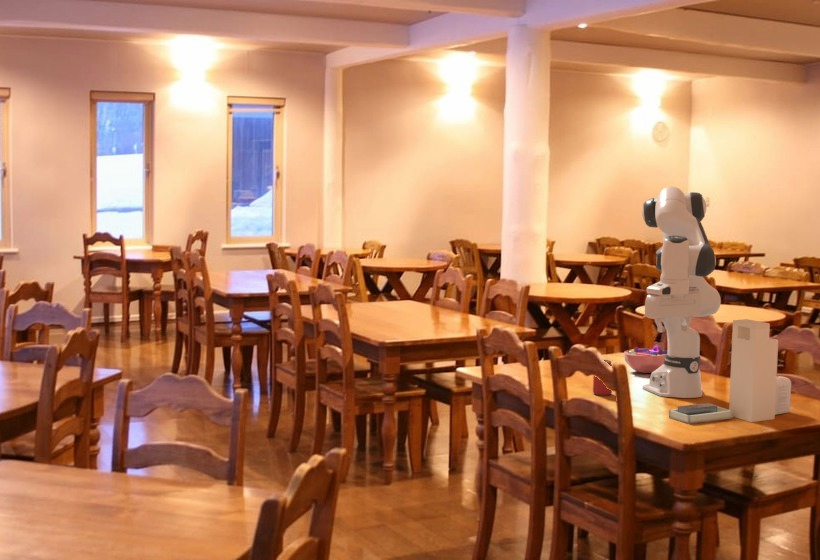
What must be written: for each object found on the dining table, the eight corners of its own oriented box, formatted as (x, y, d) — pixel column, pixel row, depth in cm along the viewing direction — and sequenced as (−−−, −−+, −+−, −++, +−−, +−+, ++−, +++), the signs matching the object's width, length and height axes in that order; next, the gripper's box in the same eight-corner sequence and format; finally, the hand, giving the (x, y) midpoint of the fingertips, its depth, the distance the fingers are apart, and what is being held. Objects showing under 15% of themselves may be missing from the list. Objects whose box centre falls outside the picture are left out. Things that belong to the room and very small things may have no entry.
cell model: (616, 369, 423) (617, 341, 422) (663, 368, 427) (664, 340, 425) (632, 377, 406) (633, 348, 405) (681, 376, 410) (682, 347, 409)
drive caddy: (677, 417, 338) (677, 406, 337) (708, 413, 343) (708, 402, 343) (685, 419, 334) (686, 409, 334) (716, 416, 340) (717, 405, 340)
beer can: (603, 396, 370) (604, 363, 369) (589, 393, 375) (590, 360, 374) (615, 394, 374) (616, 361, 373) (601, 391, 379) (602, 358, 378)
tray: (668, 417, 340) (669, 410, 339) (712, 412, 348) (712, 404, 347) (688, 423, 331) (689, 416, 331) (732, 418, 339) (733, 410, 339)
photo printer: (780, 410, 352) (782, 374, 351) (791, 412, 349) (793, 376, 347) (760, 413, 346) (762, 377, 345) (771, 416, 343) (773, 379, 342)
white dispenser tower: (728, 415, 343) (732, 320, 340) (751, 412, 348) (756, 318, 345) (751, 422, 335) (755, 324, 331) (774, 419, 339) (779, 322, 336)
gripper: (693, 285, 337) (691, 328, 338) (642, 288, 328) (640, 331, 329) (706, 287, 331) (705, 330, 333) (655, 290, 322) (654, 334, 323)
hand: (672, 331), depth 331 cm, fingers open, 8 cm apart
